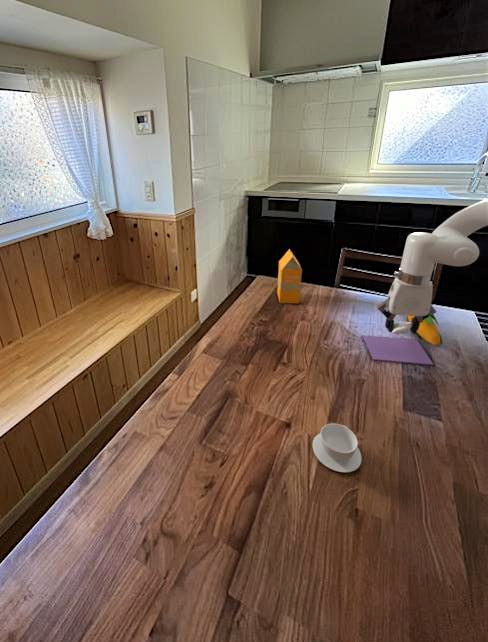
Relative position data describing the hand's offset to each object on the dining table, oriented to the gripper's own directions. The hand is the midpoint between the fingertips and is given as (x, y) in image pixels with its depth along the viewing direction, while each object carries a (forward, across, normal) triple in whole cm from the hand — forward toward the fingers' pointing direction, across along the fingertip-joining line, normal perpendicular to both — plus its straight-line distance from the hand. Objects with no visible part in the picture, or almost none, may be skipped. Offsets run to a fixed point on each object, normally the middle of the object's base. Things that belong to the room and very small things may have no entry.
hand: (400, 330), depth 101 cm
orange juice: (+8, -31, +30) cm, 44 cm away
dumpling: (+1, 0, 0) cm, 1 cm away
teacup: (+8, -24, -40) cm, 47 cm away
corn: (+8, +11, +10) cm, 17 cm away
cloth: (+7, 0, 0) cm, 7 cm away
